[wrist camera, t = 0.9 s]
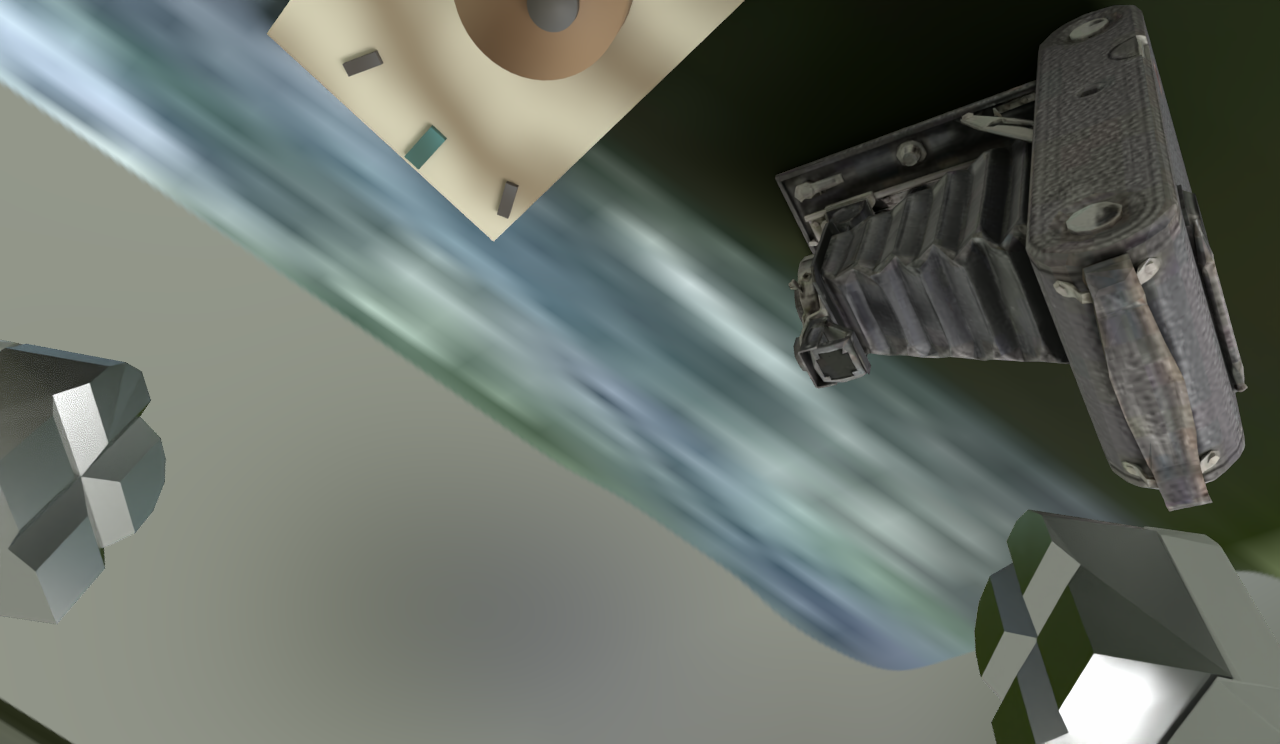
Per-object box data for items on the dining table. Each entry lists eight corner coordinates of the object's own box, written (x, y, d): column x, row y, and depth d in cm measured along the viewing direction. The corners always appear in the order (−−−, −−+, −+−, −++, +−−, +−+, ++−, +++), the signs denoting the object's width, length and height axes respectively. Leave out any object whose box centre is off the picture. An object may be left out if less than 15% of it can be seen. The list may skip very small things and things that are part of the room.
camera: (783, 116, 44) (646, 363, 31) (1165, -23, 35) (1217, 243, 21) (860, 289, 49) (772, 569, 36) (1213, 208, 40) (1280, 547, 26)
